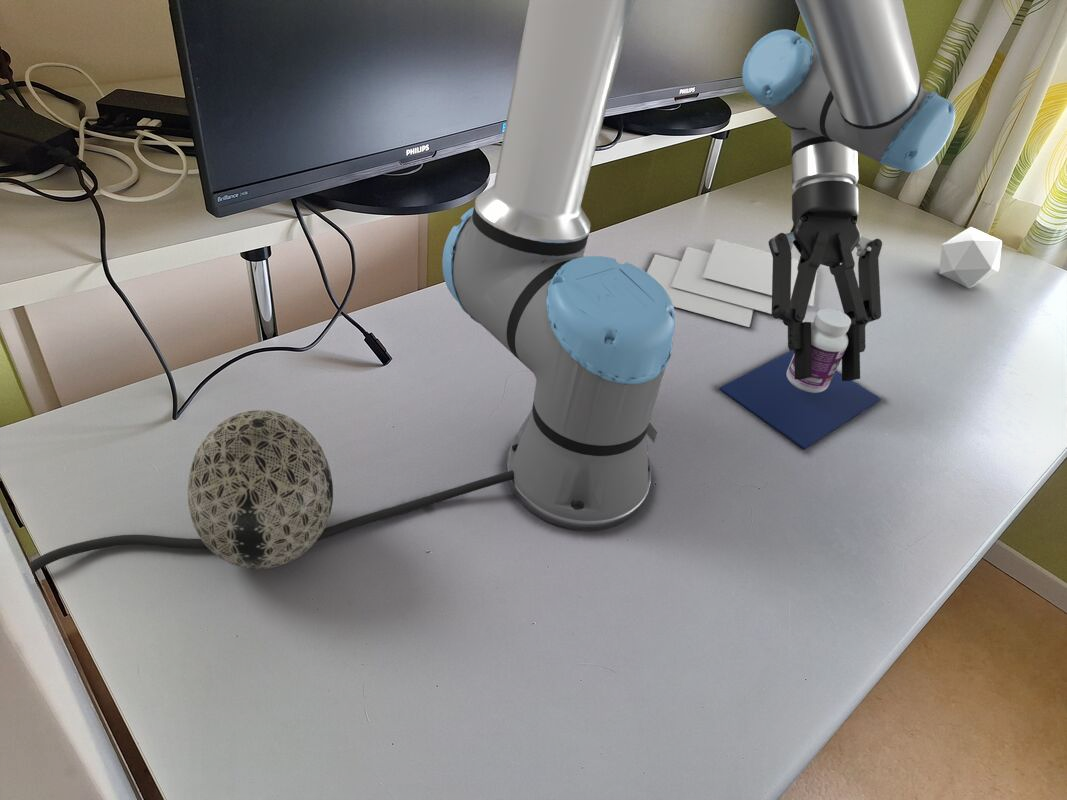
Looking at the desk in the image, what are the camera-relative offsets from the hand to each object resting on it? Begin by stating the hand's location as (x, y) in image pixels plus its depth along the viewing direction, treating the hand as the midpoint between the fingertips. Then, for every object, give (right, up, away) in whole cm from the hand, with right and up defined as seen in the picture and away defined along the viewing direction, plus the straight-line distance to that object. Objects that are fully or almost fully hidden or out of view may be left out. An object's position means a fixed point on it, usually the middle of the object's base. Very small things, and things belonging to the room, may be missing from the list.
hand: (827, 378), depth 90 cm
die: (+36, +17, +36) cm, 54 cm away
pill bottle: (-1, 0, +5) cm, 5 cm away
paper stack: (-5, +16, +26) cm, 31 cm away
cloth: (-1, -2, +6) cm, 7 cm away
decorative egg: (-59, -16, -20) cm, 65 cm away
